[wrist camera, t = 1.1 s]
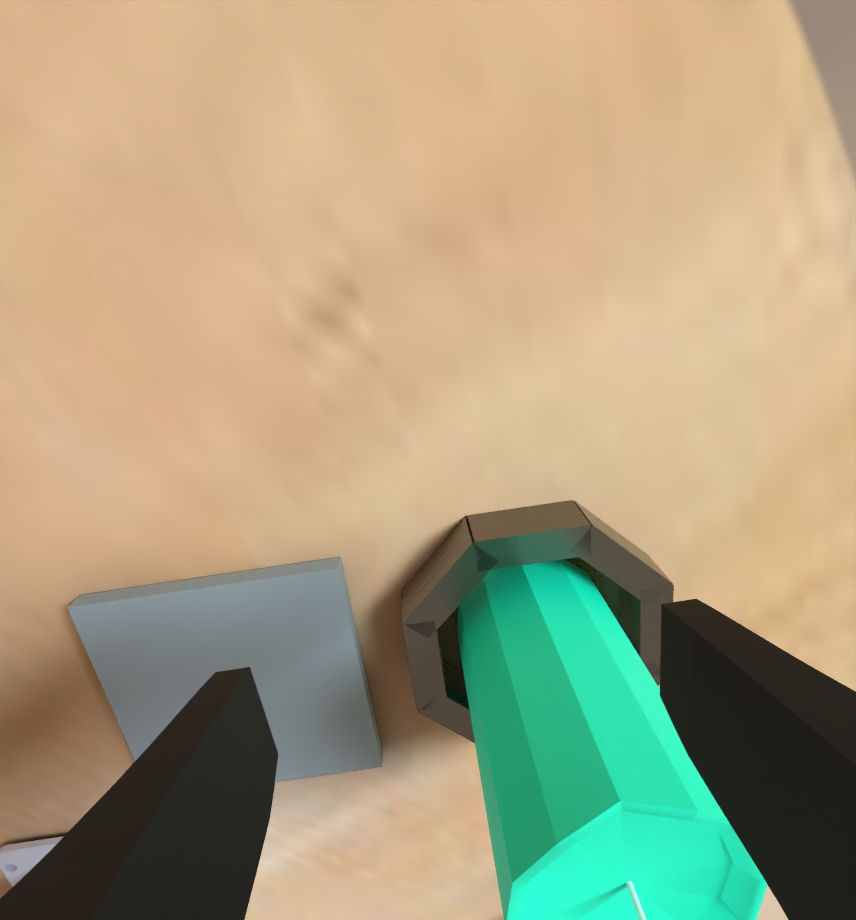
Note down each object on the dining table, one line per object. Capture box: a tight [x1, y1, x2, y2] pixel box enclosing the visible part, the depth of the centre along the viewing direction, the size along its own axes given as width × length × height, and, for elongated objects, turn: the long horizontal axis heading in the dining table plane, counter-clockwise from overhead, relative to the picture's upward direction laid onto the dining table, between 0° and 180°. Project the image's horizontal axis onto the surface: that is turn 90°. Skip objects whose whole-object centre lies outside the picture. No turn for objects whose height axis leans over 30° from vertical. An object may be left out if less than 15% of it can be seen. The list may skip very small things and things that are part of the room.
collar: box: [401, 501, 674, 743], centre depth 21 cm, size 10×10×2 cm
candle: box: [457, 559, 767, 920], centre depth 16 cm, size 6×6×12 cm
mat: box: [67, 557, 383, 782], centre depth 22 cm, size 10×10×1 cm
